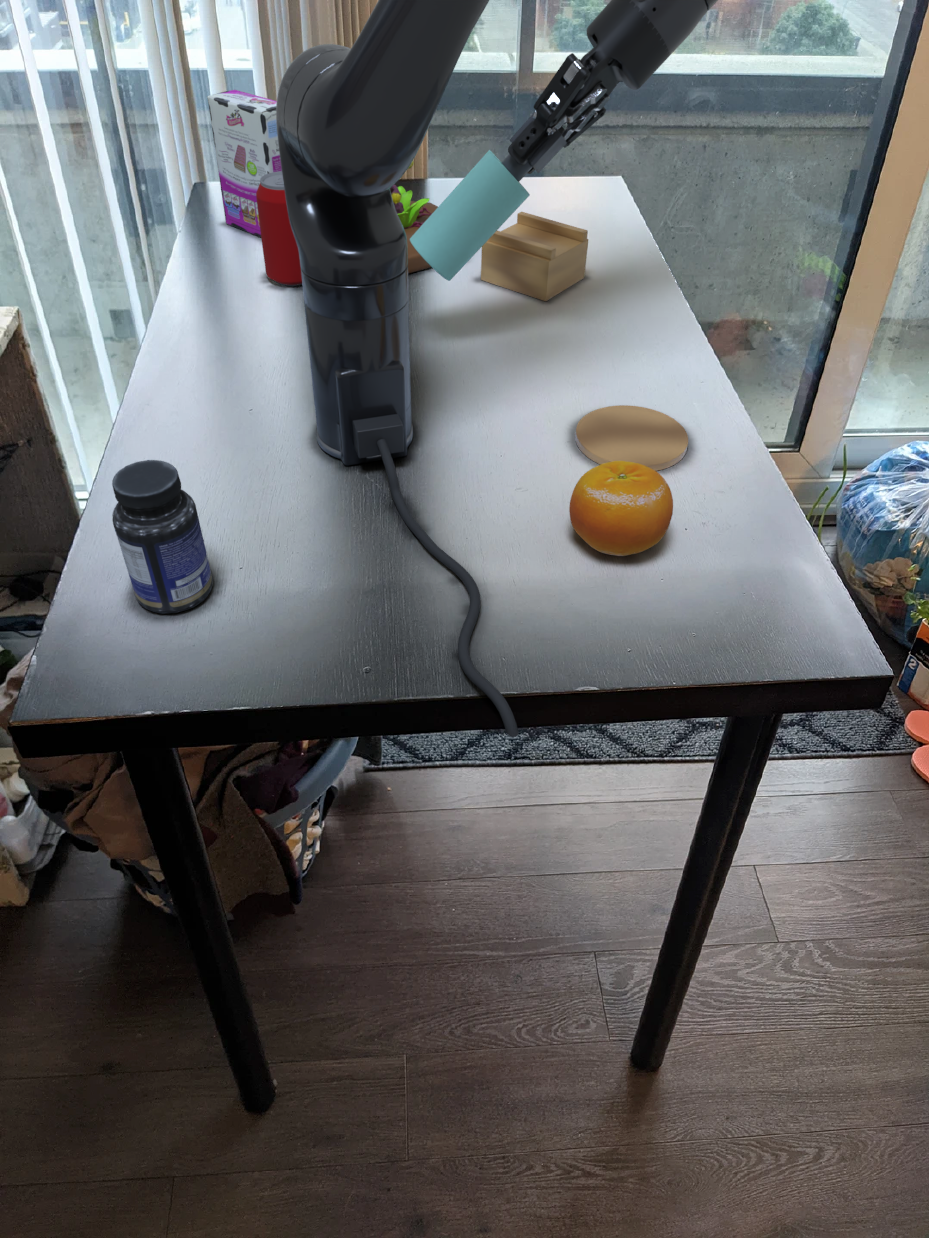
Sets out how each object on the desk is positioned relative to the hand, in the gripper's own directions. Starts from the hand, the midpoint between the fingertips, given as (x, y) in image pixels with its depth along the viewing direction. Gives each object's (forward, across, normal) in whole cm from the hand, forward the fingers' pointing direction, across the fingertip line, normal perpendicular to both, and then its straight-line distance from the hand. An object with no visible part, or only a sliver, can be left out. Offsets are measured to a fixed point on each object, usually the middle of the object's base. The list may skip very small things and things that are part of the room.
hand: (518, 162), depth 97 cm
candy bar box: (+31, +26, +28) cm, 49 cm away
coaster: (+9, -7, -29) cm, 31 cm away
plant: (+19, +27, +13) cm, 35 cm away
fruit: (+15, -21, -35) cm, 43 cm away
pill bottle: (+41, -37, -15) cm, 57 cm away
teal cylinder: (+4, 0, 0) cm, 4 cm away
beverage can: (+29, +14, +16) cm, 36 cm away
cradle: (+8, +23, -4) cm, 25 cm away
